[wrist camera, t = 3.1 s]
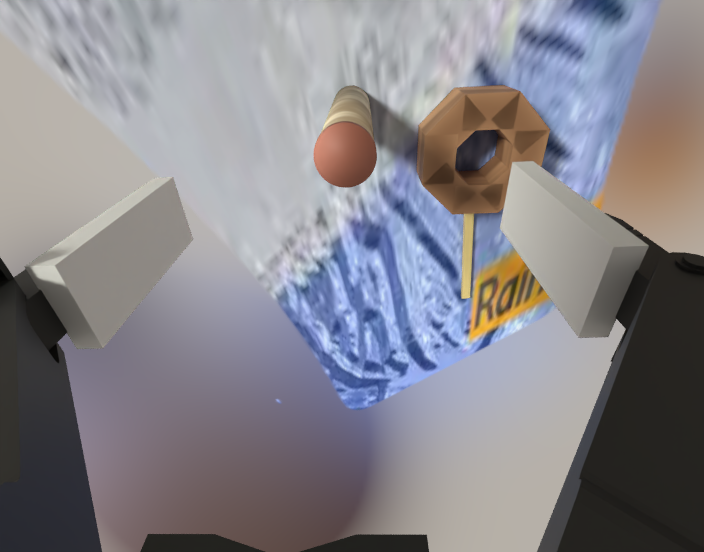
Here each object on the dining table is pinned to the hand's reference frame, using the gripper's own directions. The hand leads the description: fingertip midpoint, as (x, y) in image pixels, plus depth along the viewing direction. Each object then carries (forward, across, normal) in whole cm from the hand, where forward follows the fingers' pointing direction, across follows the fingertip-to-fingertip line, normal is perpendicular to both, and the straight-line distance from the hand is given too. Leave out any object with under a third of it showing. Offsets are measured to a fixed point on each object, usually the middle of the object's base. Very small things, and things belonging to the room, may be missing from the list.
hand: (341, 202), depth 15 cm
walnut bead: (+22, +11, -4) cm, 25 cm away
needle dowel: (+22, 0, 0) cm, 22 cm away
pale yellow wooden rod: (+22, +12, -16) cm, 29 cm away
